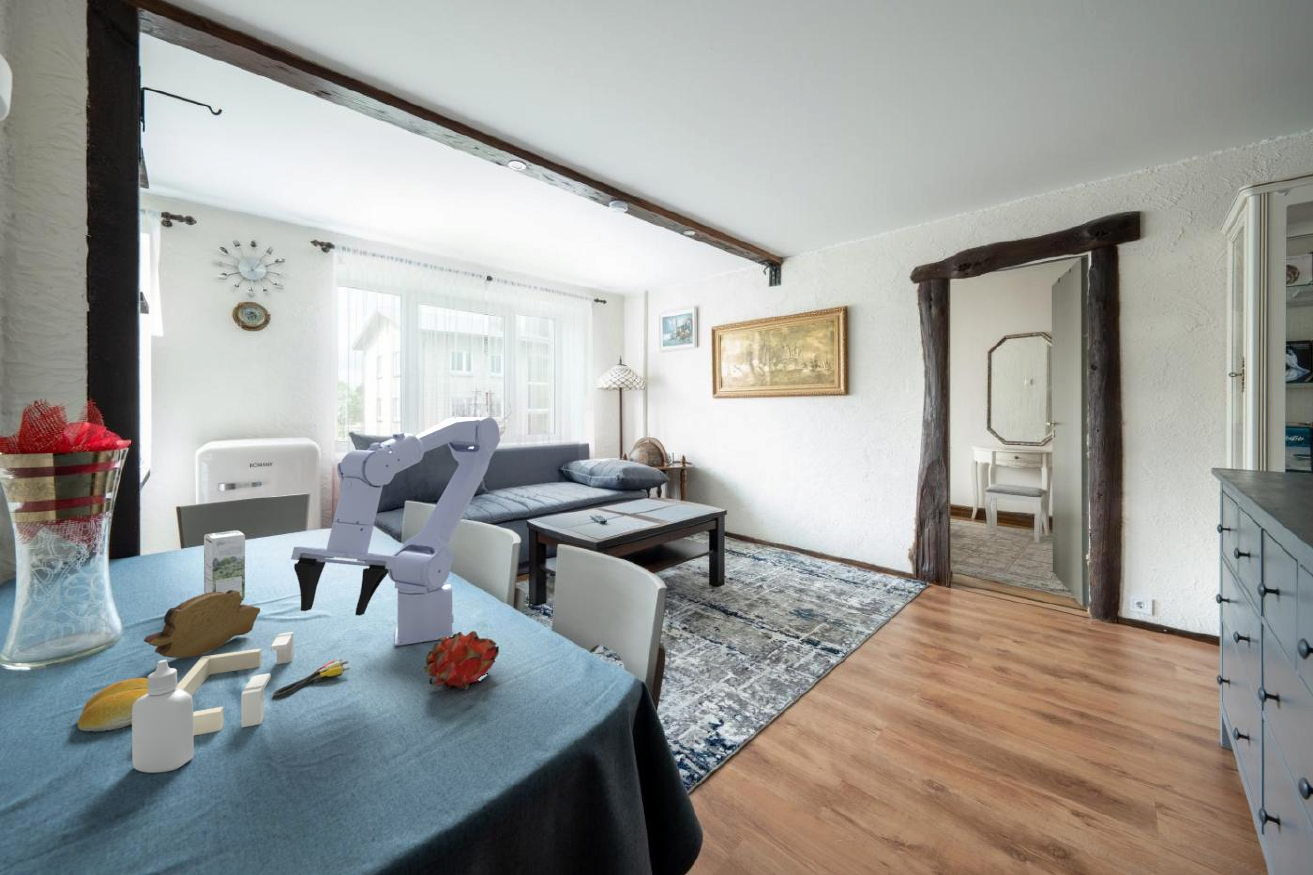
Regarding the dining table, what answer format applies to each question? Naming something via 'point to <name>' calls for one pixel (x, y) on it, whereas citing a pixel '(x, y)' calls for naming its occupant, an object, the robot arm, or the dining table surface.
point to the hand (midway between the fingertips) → (333, 612)
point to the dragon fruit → (460, 660)
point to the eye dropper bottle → (162, 724)
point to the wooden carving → (203, 624)
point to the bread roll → (112, 706)
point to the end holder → (211, 665)
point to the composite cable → (314, 678)
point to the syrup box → (224, 562)
